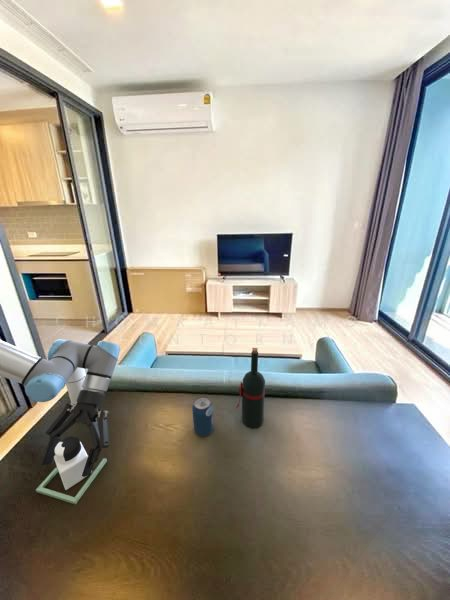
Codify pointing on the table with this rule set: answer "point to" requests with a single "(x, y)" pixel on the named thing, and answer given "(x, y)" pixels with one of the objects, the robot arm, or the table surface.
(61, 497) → the frame
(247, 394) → the wine bottle
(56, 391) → the robot arm
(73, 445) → the medicine bottle
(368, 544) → the table surface
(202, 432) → the soda can
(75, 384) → the cylindrical container
